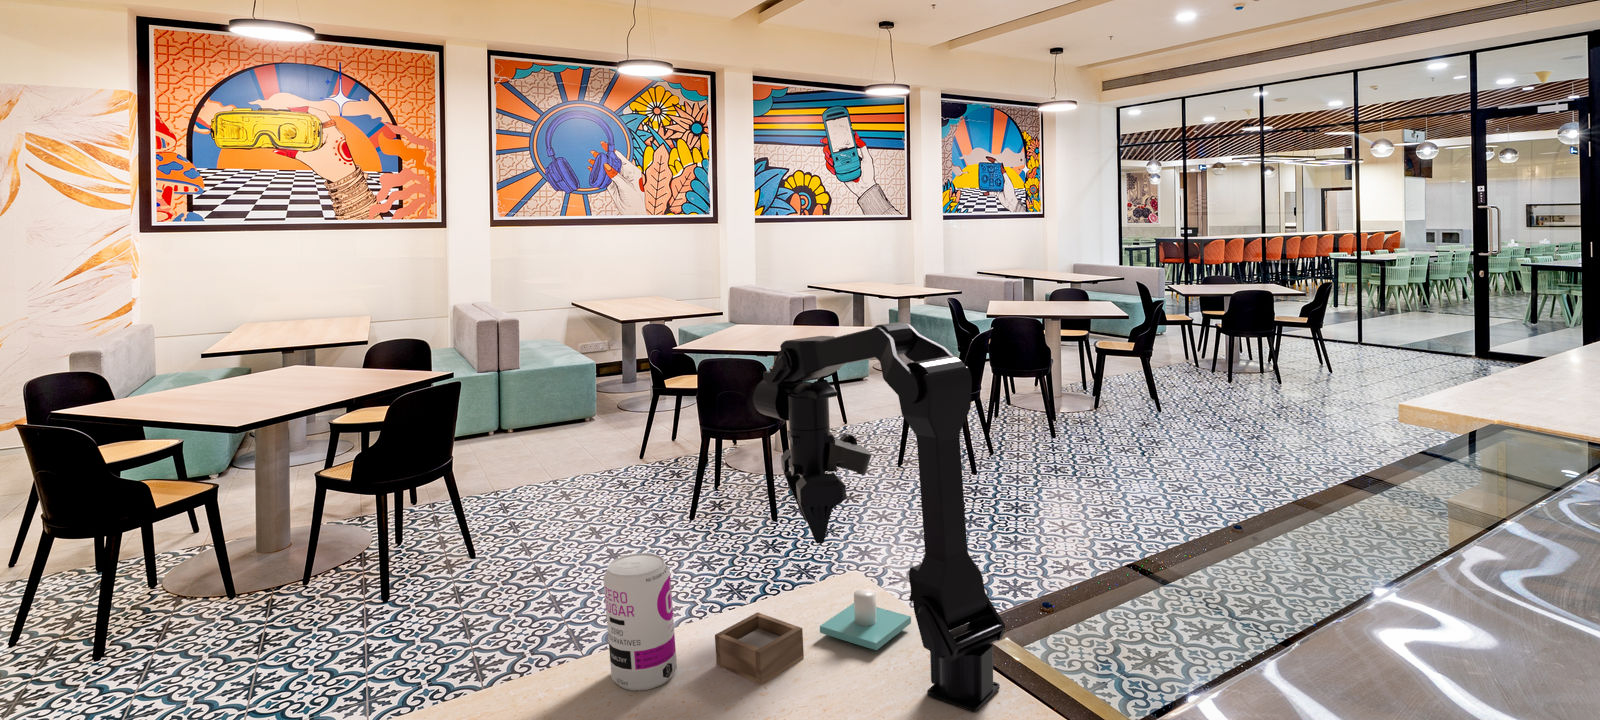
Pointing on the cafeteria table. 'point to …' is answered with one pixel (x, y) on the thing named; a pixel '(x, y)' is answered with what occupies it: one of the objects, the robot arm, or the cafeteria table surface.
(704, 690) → the cafeteria table surface
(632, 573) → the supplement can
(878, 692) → the cafeteria table surface
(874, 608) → the lid
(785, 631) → the box
